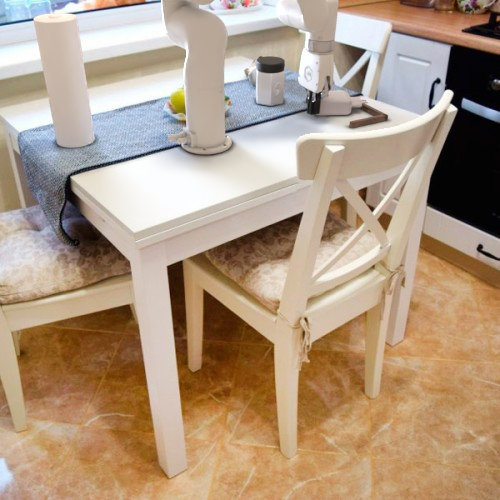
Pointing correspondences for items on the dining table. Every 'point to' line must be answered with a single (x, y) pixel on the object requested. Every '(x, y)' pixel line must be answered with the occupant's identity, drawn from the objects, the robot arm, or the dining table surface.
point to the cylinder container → (65, 78)
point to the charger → (339, 103)
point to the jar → (270, 80)
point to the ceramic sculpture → (252, 73)
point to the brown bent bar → (377, 117)
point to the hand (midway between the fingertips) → (313, 113)
